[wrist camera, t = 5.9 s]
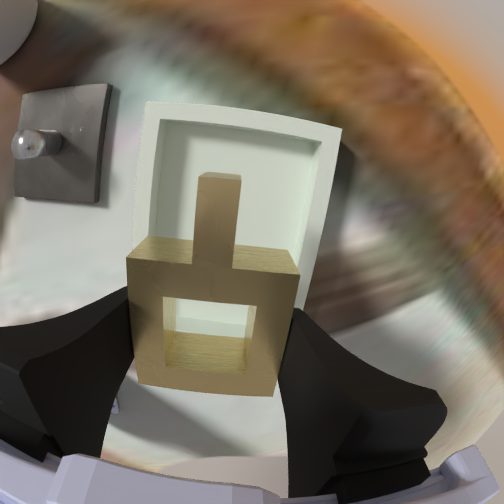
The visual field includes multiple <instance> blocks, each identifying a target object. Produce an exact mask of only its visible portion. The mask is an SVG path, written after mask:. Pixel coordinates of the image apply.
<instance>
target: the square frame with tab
mask: <svg viewBox="0 0 504 504" xmlns="http://www.w3.org/2000/svg"><path fill="white" fill-rule="evenodd" d="M241 183H242V179H241V175H238V174H229V173H219V172H208V171H207V172H205V173H203V174H202V175H200V176H198V186H197V198H196V209H195V222H194V237H193V240H186V239H176V238H165V237H155V236H147V237H146V238H145V239H144V240H143V241H142V242H141V243H140V244H139V245H138V246H137V247H136V248H135V249H134V250H133V251H132V252H131V253H130V254H129V255H128V256H127V257H126V266H127V286H128V301H129V313H130V323H131V333H132V341H133V349H134V357H135V364H136V370H137V376H138V382H139V383H140V384H146V385H151V386H157V387H164V388H171V389H178V390H186V391H194V392H203V393H214V394H226V395H242V396H269V397H273V394H274V390H275V386H276V382H277V378H278V374H279V370H280V366H281V362H282V357H283V353H284V349H285V345H286V340H287V336H288V332H289V327H290V323H291V318H292V314H293V309H294V304H295V300H296V295H297V290H298V285H299V280H300V275H301V274H300V273H299V271H298V269H297V267H296V265H295V263H294V261H293V259H292V257H291V255H290V253H289V251H288V250H285V249H276V248H266V247H256V246H246V245H236V244H235V235H236V226H237V218H238V209H239V200H240V192H241ZM176 298H179V299H188V300H197V301H207V302H217V303H227V304H238V305H249V306H248V313H247V321H246V328H245V335H244V338H239V337H227V336H216V335H206V334H196V333H187V332H179V331H176Z"/></svg>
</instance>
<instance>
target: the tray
mask: <svg viewBox="0 0 504 504" xmlns="http://www.w3.org/2000/svg"><path fill="white" fill-rule="evenodd" d="M341 132H342V129H340V128H336V127H333V126H329V125H324V124H320V123H316V122H312V121H307V120H303V119H298V118H293V117H288V116H283V115H277V114H272V113H266V112H260V111H253V110H247V109H240V108H232V107H224V106H215V105H204V104H193V103H178V102H156V101H146V105H145V111H144V117H143V124H142V131H141V138H140V145H139V154H138V163H137V172H136V183H135V196H134V212H133V236H132V251H133V250H134V249H135V248H136V247H137V246H138V245H139V244H140V243H141V242H142V241H143V240H144V239H145V238H146V237H147V236H155V237H165V238H176V239H186V240H193V237H194V222H195V209H196V198H197V186H198V176H200V175H202V174H203V173H205V172H207V171H208V172H219V173H229V174H238V175H241V179H242V183H241V192H240V200H239V209H238V218H237V226H236V235H235V244H236V245H246V246H256V247H266V248H276V249H285V250H288V251H289V253H290V255H291V257H292V259H293V261H294V263H295V265H296V267H297V269H298V271H299V273H300V274H301V275H300V280H299V285H298V290H297V295H296V300H295V304H294V308H300V309H301V310H302V311H303V308H304V304H305V300H306V297H307V293H308V289H309V285H310V281H311V277H312V273H313V269H314V265H315V261H316V257H317V253H318V248H319V244H320V240H321V235H322V231H323V226H324V222H325V217H326V212H327V207H328V203H329V198H330V193H331V188H332V182H333V177H334V172H335V167H336V161H337V155H338V150H339V144H340V138H341ZM248 306H249V305H238V304H227V303H217V302H207V301H197V300H188V299H179V298H176V331H179V332H187V333H196V334H206V335H216V336H227V337H239V338H244V335H245V328H246V321H247V313H248Z"/></svg>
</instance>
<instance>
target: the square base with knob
mask: <svg viewBox="0 0 504 504" xmlns="http://www.w3.org/2000/svg"><path fill="white" fill-rule="evenodd" d="M112 86H113V85H111V84H108V83H103V84H90V85H80V86H71V87H63V88H56V89H49V90H43V91H38V92H32V93H27V94H23V100H22V105H21V112H20V118H19V126H18V132H17V133H16V134H15V136H14V137H13V140H12V145H11V150H12V154H13V156H14V157H15V158H16V159H15V196H16V197H30V198H42V199H54V200H65V201H76V202H87V203H96V202H98V201H99V193H100V176H101V164H102V153H103V144H104V135H105V128H106V121H107V114H108V108H109V102H110V97H111V91H112Z"/></svg>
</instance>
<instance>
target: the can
mask: <svg viewBox="0 0 504 504" xmlns="http://www.w3.org/2000/svg"><path fill="white" fill-rule="evenodd" d="M37 8H38V2H37V0H0V65H1V64H2V63H3V62H5V61H6V60H7V59H8V58H9V57H10V56H12V55H13V54H14V53H15V52H16V51H17V50H18V49H19V48H20V47H21V45H22V44H23V43H24V41H25V40H26V39H27V37H28V35H29V33H30V31H31V30H32V27H33V25H34V22H35V19H36V14H37Z"/></svg>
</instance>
